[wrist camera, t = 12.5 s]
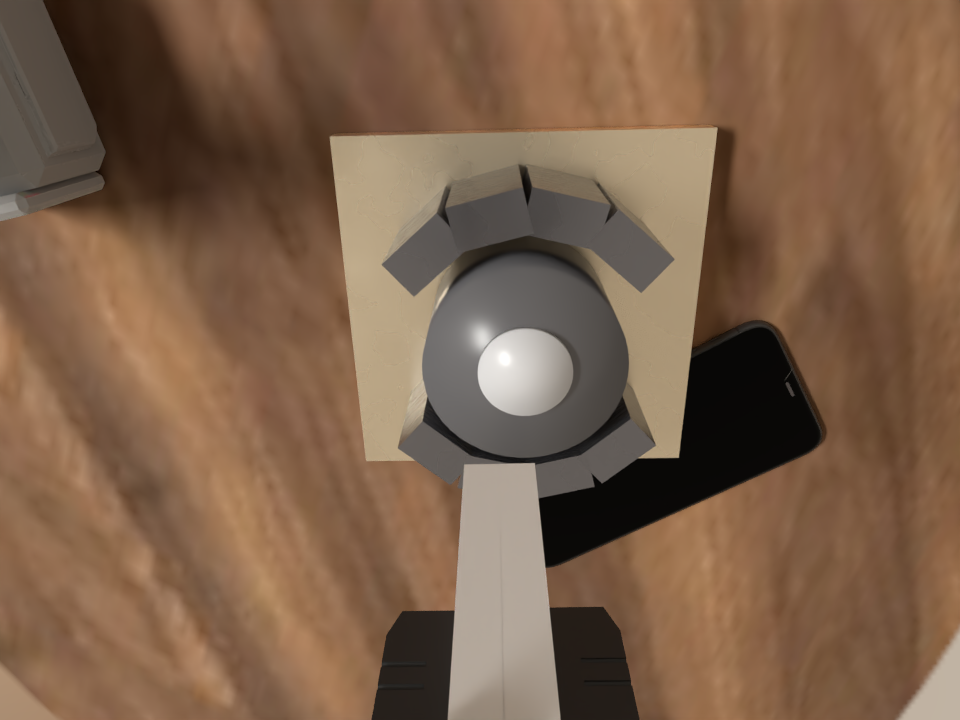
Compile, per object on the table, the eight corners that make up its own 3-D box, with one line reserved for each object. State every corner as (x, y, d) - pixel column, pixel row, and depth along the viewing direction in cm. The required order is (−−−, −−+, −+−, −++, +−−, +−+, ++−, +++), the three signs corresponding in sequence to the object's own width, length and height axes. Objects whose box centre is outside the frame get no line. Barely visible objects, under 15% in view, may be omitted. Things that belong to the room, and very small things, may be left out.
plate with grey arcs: (335, 133, 26) (296, 154, 21) (709, 124, 25) (762, 144, 20) (369, 449, 31) (346, 525, 26) (673, 445, 31) (707, 522, 26)
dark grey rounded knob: (423, 239, 26) (407, 283, 21) (605, 223, 26) (630, 264, 21) (444, 399, 29) (434, 468, 24) (607, 386, 29) (631, 455, 24)
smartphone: (539, 565, 35) (823, 437, 31) (540, 576, 34) (832, 446, 30) (462, 460, 32) (763, 307, 29) (462, 470, 31) (770, 315, 28)
